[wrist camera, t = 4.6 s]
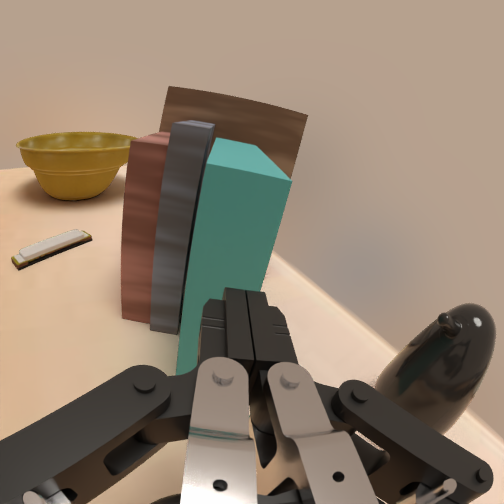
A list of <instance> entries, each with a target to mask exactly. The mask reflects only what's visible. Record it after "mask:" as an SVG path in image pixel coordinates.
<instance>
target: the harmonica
mask: <svg viewBox="0 0 504 504" xmlns="http://www.w3.org/2000/svg"><path fill="white" fill-rule="evenodd" d="M90 241H92V236H91V235H89V234H88V233H86V232H85V231H79V230H77V229H75V230H71V231H68V232H65V233H62V234H60V235H57V236H54V237H51V238H48V239H46V240H43V241H40V242H38V243H35V244H32V245H30V246H27V247H25V248H23V249H21V250H19V254H18V255H16V256H13V257H11V259H12V263H13V264H14V265H15V267H16V268H17V269H18V270H21V269H24V268H26V267H28V266H30V265H33V264H35V263H37V262H40V261H42V260H45V259H47V258H49V257H52V256H54V255H57V254H59V253H62V252H64V251H67V250H69V249H72V248H74V247H77V246H79V245H82V244H84V243H87V242H90Z"/></svg>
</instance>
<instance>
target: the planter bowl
mask: <svg viewBox="0 0 504 504" xmlns="http://www.w3.org/2000/svg"><path fill="white" fill-rule="evenodd" d="M135 139H138V138H135V137H132V136H127V135H121V134H114V133H101V132H66V133H53V134H46V135H39V136H35V137H30V138H27V139H24V140H21V141H20V142H18V143H17V144H16V146H17V147H18V148H20V152H21V155H22V158H23V161H24V163H25V164H26V165H27V166H28V167H30V168H31V169H32V170H34V173H35V175H36V178H37V180H38V182H39V183H40V185H41V187H42V188H43V190H44V191H45V192H46V193H47V194H49V195H50V196H52V197H54V198H57V199H61V200H81V199H87V198H91V197H94V196H97V195H99V194H100V193H101V192H103V191H104V190H105V189H107V187H108V186H109V185H110V183H111V182H112V180H113V179H114V177H115V176H116V174H117V172H118V170H119V168H120V167H121V166H123V165H124V164H125V163H127V162H128V157H129V149H130V143H131V141H132V140H135Z"/></svg>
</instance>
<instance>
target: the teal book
mask: <svg viewBox="0 0 504 504" xmlns="http://www.w3.org/2000/svg"><path fill="white" fill-rule="evenodd" d="M291 184H292V181H291V179H290V178H289V177H288V176H287V175H286V174H285V173H284V172H283V171H282V170H281V169H280V168H279V167H278V166H277V165H276V164H275V163H274V162H273V161H272V160H271V159H269V158H268V157H267V156H266V155H265V154H264V153H263V152H262V151H261V150H260V149H259V148H258V147H257V146H256V145H251V144H247V143H242V142H237V141H232V140H227V139H222V138H217V137H216V140H215V142H214V145H213V147H212V150H211V153H210V155H209V158H208V160H207V163H206V168H205V173H204V178H203V183H202V188H201V194H200V199H199V205H198V210H197V216H196V222H195V228H194V234H193V240H192V246H191V253H190V259H189V266H188V273H187V280H186V288H185V295H184V303H183V311H182V320H181V329H180V338H179V348H178V358H177V369H176V375H182V374H185V373H188V372H190V371H191V370H193V369H194V368H195V367H196V366H197V352H198V338H199V331H200V324H201V318H202V311H203V306H204V305H205V303H206V302H207V301H208V300H209V299H210V298H211V299H218V300H222V297H223V292H224V288H225V287H229V288H236V289H243V290H251V291H259V292H260V290H261V287H262V283H263V280H264V277H265V273H266V270H267V267H268V263H269V260H270V257H271V253H272V250H273V246H274V243H275V239H276V236H277V233H278V229H279V226H280V222H281V219H282V215H283V212H284V208H285V205H286V201H287V198H288V194H289V191H290V187H291Z"/></svg>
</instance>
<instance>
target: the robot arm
mask: <svg viewBox="0 0 504 504" xmlns="http://www.w3.org/2000/svg"><path fill="white" fill-rule="evenodd" d="M289 335H290V333H289V330H288V328H287V323H286V319H285V316H284V315H283V314H282V312H281V311H280V310H279V309H278V308H277V307H274V306H268V302H267V298H266V294H265V292H259V291H251V290H243V289H236V288H229V287H225V288H224V292H223V297H222V300H218V299H211V298H210V299H209V300H208V301H207V302H206V303H205V305H204V306H203V311H202V318H201V324H200V331H199V338H198V352H197V366H196V367H195V368H194V369H193V370H191V371H190V372H188V373H185V374H182V375H176V376H167V375H166V374H165V373H164V372H162V371H161V370H159V369H158V368H155V367H153V366H148V365H137V366H133V367H130V368H128V369H126V370H125V371H123V372H121V373H120V374H118V375H116V376H115V377H113V378H111V379H110V380H108V381H106V382H105V383H103V384H101V385H100V386H98V387H96V388H94V389H93V390H91V391H89V392H88V393H86V394H84V395H82V396H81V397H79V398H77V399H76V400H74V401H72V402H70V403H69V404H67V405H65V406H63V407H62V408H60V409H58V410H56V411H54V412H53V413H51V414H49V415H47V416H46V417H44V418H42V419H40V420H38V421H36V422H35V423H33V424H31V425H29V426H27V427H25V428H24V429H22V430H20V431H18V432H16V433H14V434H12V435H11V436H9V437H7V438H5V439H3V440H1V441H0V504H86V503H88V502H89V501H91V500H92V499H94V498H95V497H97V496H98V495H100V494H101V493H103V492H104V491H106V490H107V489H108V488H110V487H111V486H113V485H114V484H116V483H117V482H118V481H120V480H121V479H122V478H124V477H125V476H126V475H128V474H129V473H130V472H132V471H133V470H134V469H136V468H137V467H138V466H140V465H141V464H142V463H144V462H145V461H146V460H147V459H149V458H150V457H151V456H152V455H154V454H155V453H156V452H157V451H159V450H160V449H161V448H162V447H164V446H165V445H166V444H167V443H168V442H173V441H179V440H185V439H188V444H187V451H186V459H185V467H184V476H183V485H182V494H176V495H171V496H167V497H164V498H161V499H159V500H157V501H155V502H152V503H151V504H385V503H384V502H382V501H381V500H379V499H378V498H380V499H382V500H383V501H385V502H386V503H388V504H469V503H470V502H471V501H473V500H475V499H476V498H478V497H480V496H481V495H483V494H484V493H486V492H487V491H489V489H490V488H491V487H492V484H493V472H492V469H491V467H490V466H489V465H488V464H487V463H486V462H485V461H483V460H482V459H480V458H478V457H477V456H475V455H473V454H472V453H470V452H469V451H467V450H465V449H464V448H462V447H461V446H459V445H457V444H456V443H454V442H453V441H451V440H450V439H448V438H446V437H445V436H443V435H442V434H440V433H439V432H437V431H436V430H434V429H433V428H431V427H429V426H428V425H426V424H425V423H423V422H422V421H420V420H419V419H417V418H416V417H414V416H413V415H411V414H410V413H409V412H407V411H406V410H404V409H403V408H401V407H400V406H398V405H397V404H395V403H394V402H392V401H391V400H390V399H388V398H387V397H385V396H384V395H382V394H381V393H379V392H378V391H377V390H375V389H374V388H372V387H371V386H370V385H368V384H366V383H364V382H362V381H359V380H348V381H345V382H344V383H342V385H341V386H340V387H339V388H335V387H331V386H327V385H323V384H319V383H317V382H314V381H313V379H312V377H311V375H310V374H309V372H308V371H307V370H306V369H304V368H303V367H301V366H300V365H299V364H298V361H297V357H296V354H295V350H294V347H293V343H292V340H291V336H289ZM249 405H250V415H249ZM356 431H358V432H360V433H361V434H363V435H364V436H365V437H367V438H368V439H370V440H371V441H372V442H374V443H375V444H377V445H378V446H380V447H381V448H382V449H384V451H382V450H378V449H376V448H375V447H373V446H372V445H371V444H369V443H368V442H366V441H365V440H364V439H362V438H361V437H359V436H358V435H357V434H355V432H356ZM256 472H257V476H256ZM376 496H377V497H378V498H377V497H376Z"/></svg>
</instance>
